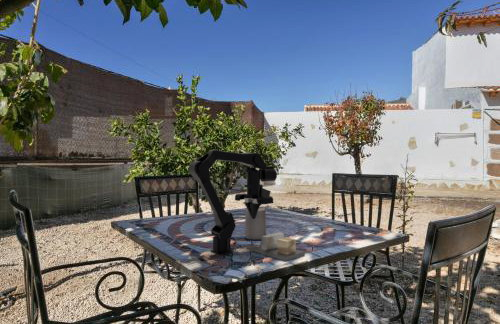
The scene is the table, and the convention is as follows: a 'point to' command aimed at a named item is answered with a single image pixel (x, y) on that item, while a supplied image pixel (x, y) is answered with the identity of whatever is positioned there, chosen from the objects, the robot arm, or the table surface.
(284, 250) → the block
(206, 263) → the table surface
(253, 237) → the pillar candle
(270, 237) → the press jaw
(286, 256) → the press bed
